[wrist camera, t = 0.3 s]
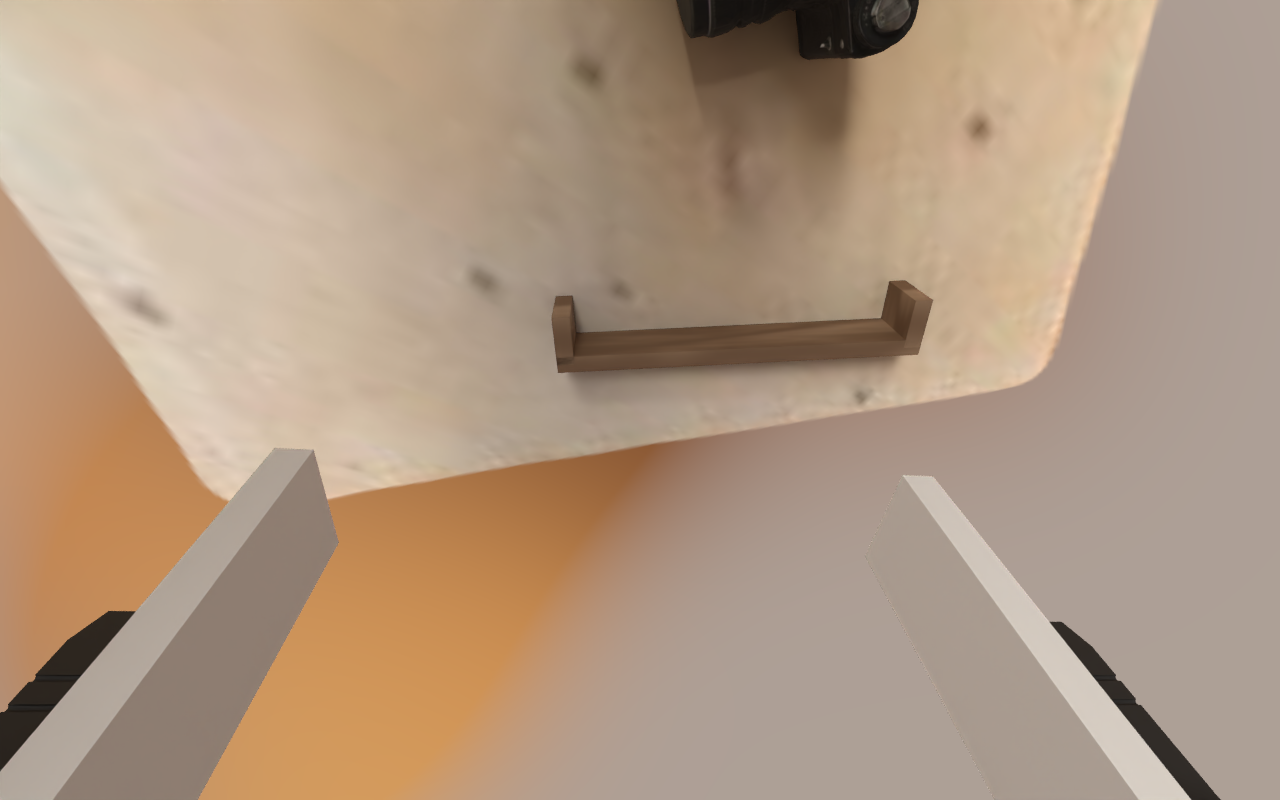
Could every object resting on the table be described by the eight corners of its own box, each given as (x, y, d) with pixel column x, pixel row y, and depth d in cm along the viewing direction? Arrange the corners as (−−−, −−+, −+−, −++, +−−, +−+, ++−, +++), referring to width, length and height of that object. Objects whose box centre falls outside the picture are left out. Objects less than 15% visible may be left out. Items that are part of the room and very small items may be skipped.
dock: (555, 296, 40) (551, 317, 36) (905, 280, 40) (932, 300, 37) (561, 347, 42) (558, 372, 38) (892, 331, 43) (917, 354, 39)
